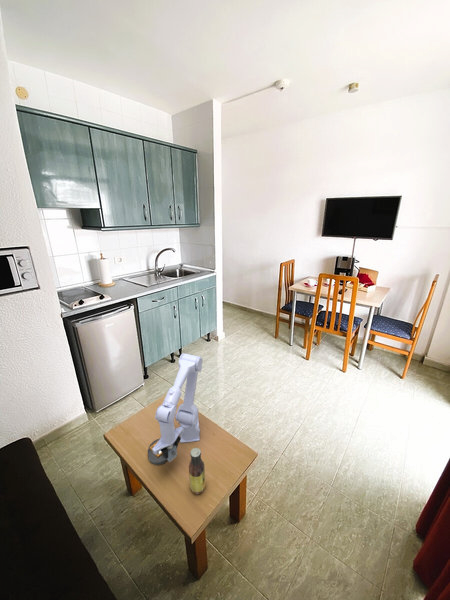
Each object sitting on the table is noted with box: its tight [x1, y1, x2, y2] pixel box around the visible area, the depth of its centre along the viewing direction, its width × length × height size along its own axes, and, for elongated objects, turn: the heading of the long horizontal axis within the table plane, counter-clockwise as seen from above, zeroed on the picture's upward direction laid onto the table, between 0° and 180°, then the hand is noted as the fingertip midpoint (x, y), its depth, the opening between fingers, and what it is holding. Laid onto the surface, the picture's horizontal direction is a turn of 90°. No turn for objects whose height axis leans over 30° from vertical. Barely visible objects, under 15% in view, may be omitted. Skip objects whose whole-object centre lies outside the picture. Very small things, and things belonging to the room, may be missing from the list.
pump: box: [166, 443, 178, 463], centre depth 105 cm, size 4×5×7 cm
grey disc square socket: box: [147, 438, 169, 466], centre depth 114 cm, size 12×11×4 cm
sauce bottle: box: [188, 447, 206, 495], centre depth 97 cm, size 7×6×20 cm
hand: (170, 453), depth 106 cm, fingers closed on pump, 4 cm apart
